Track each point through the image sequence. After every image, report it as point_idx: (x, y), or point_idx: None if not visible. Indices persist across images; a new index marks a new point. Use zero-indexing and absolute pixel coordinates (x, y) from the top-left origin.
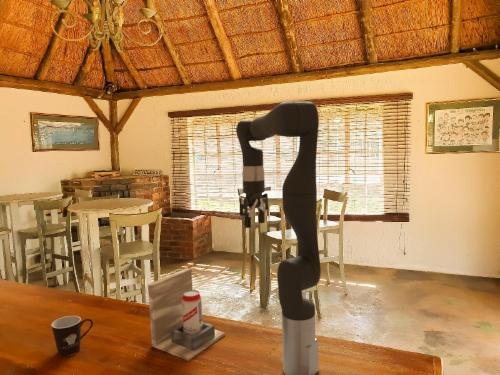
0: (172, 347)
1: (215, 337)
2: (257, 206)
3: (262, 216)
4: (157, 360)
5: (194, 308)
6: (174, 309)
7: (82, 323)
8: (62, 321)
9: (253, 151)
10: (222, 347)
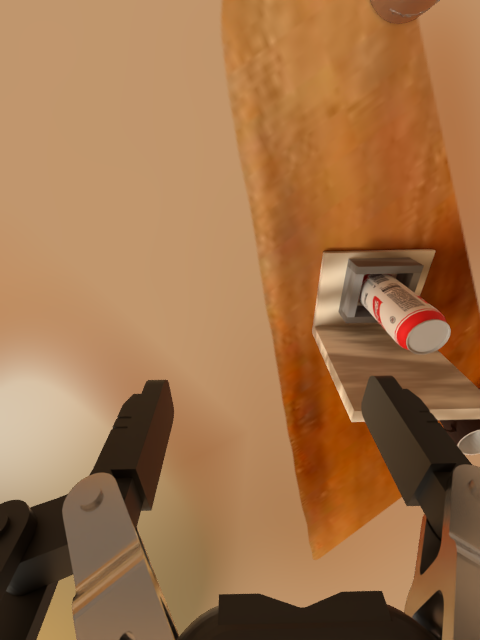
0: None
1: (350, 256)
2: (287, 634)
3: (152, 437)
4: (442, 293)
5: (428, 303)
6: (384, 353)
7: (452, 429)
8: (464, 448)
9: None
10: (367, 224)
